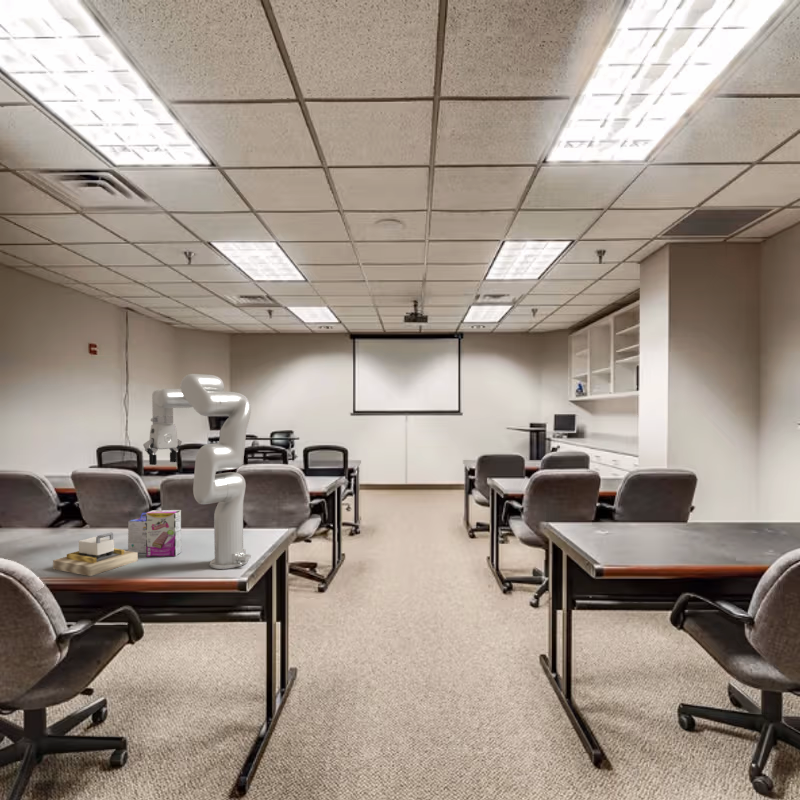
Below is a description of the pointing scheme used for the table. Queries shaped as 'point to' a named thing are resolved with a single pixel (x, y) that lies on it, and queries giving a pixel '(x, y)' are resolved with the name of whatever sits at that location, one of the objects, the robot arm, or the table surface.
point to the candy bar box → (163, 533)
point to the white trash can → (97, 545)
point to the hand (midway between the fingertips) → (163, 463)
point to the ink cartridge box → (137, 535)
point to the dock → (94, 562)
